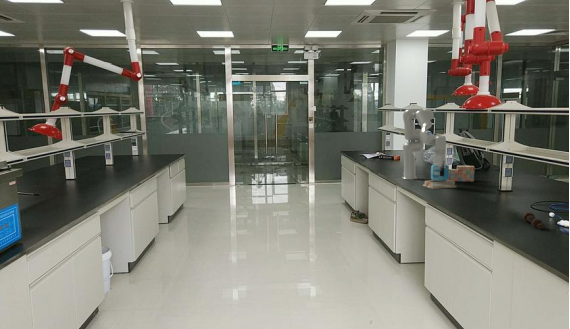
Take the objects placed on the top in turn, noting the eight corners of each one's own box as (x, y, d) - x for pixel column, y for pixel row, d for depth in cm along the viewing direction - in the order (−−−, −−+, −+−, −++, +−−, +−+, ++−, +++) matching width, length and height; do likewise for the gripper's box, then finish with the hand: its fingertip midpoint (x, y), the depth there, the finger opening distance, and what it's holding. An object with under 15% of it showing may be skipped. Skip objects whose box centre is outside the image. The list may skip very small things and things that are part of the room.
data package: (432, 181, 314) (432, 165, 312) (430, 180, 318) (431, 164, 317) (448, 180, 313) (448, 165, 312) (446, 179, 318) (446, 164, 316)
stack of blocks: (446, 181, 338) (446, 166, 336) (445, 179, 344) (445, 165, 342) (474, 181, 333) (474, 166, 331) (472, 180, 339) (473, 165, 337)
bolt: (538, 233, 202) (526, 224, 216) (548, 228, 201) (535, 219, 215) (533, 223, 202) (521, 214, 216) (543, 218, 200) (530, 210, 215)
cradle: (422, 185, 321) (422, 180, 321) (445, 184, 325) (446, 179, 324) (432, 188, 308) (432, 183, 307) (456, 187, 311) (456, 182, 311)
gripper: (429, 151, 320) (429, 174, 323) (442, 153, 304) (441, 177, 306) (438, 150, 322) (438, 173, 324) (451, 152, 305) (450, 176, 307)
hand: (439, 175), depth 315 cm, fingers closed on data package, 5 cm apart
